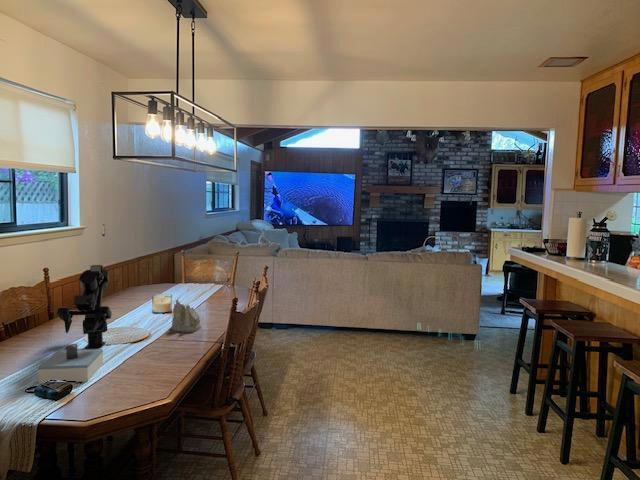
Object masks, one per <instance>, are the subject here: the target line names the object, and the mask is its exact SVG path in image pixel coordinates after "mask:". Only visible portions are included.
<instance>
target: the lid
mask: <svg viewBox="0 0 640 480" xmlns="http://www.w3.org/2000/svg"><path fill="white" fill-rule="evenodd" d="M103 350H104V349H101V348H99V349H97V348H94V349H78V344H77V343H70V344H67V345H65V349H64V350H63V349H62V350H57V351H56V352H54V354H52V355H50V357H48V358H47V359H46V360H44V362H42V363H40V365H39V366H37V371H38V370H41V369H69V368H88V367H89V366H90V365H91V364H92V362H93V361H94V360H95V359H96V358H97V357H98V356H99V355H100V354H101V353H102V352H104V351H103Z"/></svg>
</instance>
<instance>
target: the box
mask: <svg viewBox="0 0 640 480" xmlns="http://www.w3.org/2000/svg"><path fill="white" fill-rule="evenodd" d="M103 352H104V351H103ZM103 352H102V353H101V354H100V355H99V356H98V357H97V358H96V359H95V360H94V361H93V362H92V364H91V365H90V366H89V367H88V368H69V369H41V370H38V369H37V371H38V374H37V375H38V384H45V383H44V382H46V381H48V380H53V379H58V380H66V381H76V382H75V383H80V382H81V383H85V382H86V383H87V382H89V381H90V380H91V379H92V378H93V377H94V375H95V374H96V373H97V372H98V371H99V369H100V368H101V367H102V366H103V365H104V355H103V354H104V353H103Z"/></svg>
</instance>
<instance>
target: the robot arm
mask: <svg viewBox="0 0 640 480" xmlns="http://www.w3.org/2000/svg"><path fill="white" fill-rule="evenodd" d="M79 282H80V287H81V290H82V292H81V295H74V296H73V302H72V304H73V305H75V306H74V307H75V309H71V307H70V306H59V307H58V308H57V309H56V315H57V317H59V319H60V320H62V321H63V322H64V330H65V333H66V334H68V333H69V331H70V329H71V325H72V323H73V316H84V319H83V320H82V331H83V335H87V344H86V345H85V346H84V348H85V349H97V348H99V349H101V348H102V347H103V346H104V345H105V344H106V341H103V339H104V338H103V333H106V332H108V322H107V320H111V319H112V315H113V313H112V310H111V308H110V307H109V305H108V306H107V305H102V303H103V292H104V290H105V289H106V288H108V284H109V283H110V275H109V271H108V270H106V268H104V265H102V264H94V265H93V264H92V265H90V268H89V269H85V270H84V271H83V272H82V273H80V276H79Z"/></svg>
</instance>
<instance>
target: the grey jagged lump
mask: <svg viewBox="0 0 640 480" xmlns="http://www.w3.org/2000/svg"><path fill="white" fill-rule="evenodd" d="M175 302H176V303H174V307H173V309H172V313H173V314H172V316H173V318H172V320H171V321H172V322H171V328H170V329H171V330H172V331H174V332H175V331H177V332H183V333H184V332H186V333H187V332H188V333H194V332H198V331H200V330H201V329H202V325H200V322H201V320H200V318H201V317H200V314H198V313H197V311H196V310H195V308H194V307H193V306H192V307H190V304H186V305H184V304H183V303H182V304H181V302H180V301H179V299H176V300H175Z"/></svg>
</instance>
